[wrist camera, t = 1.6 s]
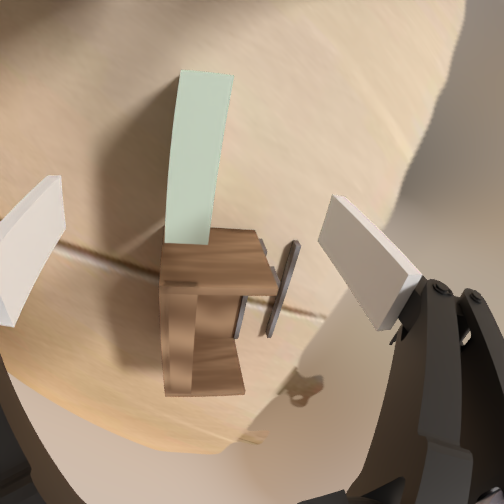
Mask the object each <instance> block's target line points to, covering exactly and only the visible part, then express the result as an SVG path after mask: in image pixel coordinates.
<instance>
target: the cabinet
mask: <svg viewBox="0 0 504 504" xmlns="http://www.w3.org/2000/svg"><path fill="white" fill-rule="evenodd" d="M300 248H301V245H300V243H299V242H298V241H295V240H293V243H292V247H291V250H290V253H289V257H288V260H287V264H286V267H285V270H284V274H283V277H282V280H281V284H280V280H279V278H278V276H277V273H276V271H275V269H274V267H270V266H269V264H268V261H267V259H266V254H267V250H266V247H265V245H264V242H263V240H262V239H258V236H257V234H256V232H255V230H241V229H225V228H210V233H209V241H208V245H201V244H179V243H165V226H164V235H163V244H162V255H161V266H160V278H159V312H160V335H161V352H162V366H163V379H164V389H165V397H202V396H229V395H244V394H245V387H244V383H243V378H242V373H241V369H240V364H239V359H238V355H237V350H236V345H235V340H234V339H238V337H239V332H240V328H241V324H242V320H243V315H244V311H245V307H246V302H247V298H248V296H277V297H276V300H275V303H274V306H273V310H272V313H271V316H270V319H269V322H268V326H267V329H266V335H267V338H271V337H272V334H273V331H274V328H275V325H276V322H277V319H278V316H279V313H280V310H281V307H282V304H283V301H284V298H285V295H286V292H287V289H288V286H289V283H290V280H291V277H292V274H293V271H294V267H295V264H296V261H297V258H298V255H299V251H300ZM279 286H280V287H279ZM278 289H279V290H278ZM277 292H278V293H277Z"/></svg>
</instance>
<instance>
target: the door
mask: <svg viewBox="0 0 504 504" xmlns="http://www.w3.org/2000/svg"><path fill="white" fill-rule="evenodd" d="M233 79H234V75H227V74H220V73H211V72H202V71H191V70H181V72H180V79H179V85H178V92H177V99H176V106H175V114H174V122H173V131H172V140H171V149H170V160H169V172H168V184H167V199H166V218H165V243H179V244H201V245H208V241H209V233H210V225H211V218H212V210H213V203H214V196H215V188H216V182H217V175H218V168H219V161H220V155H221V149H222V142H223V136H224V130H225V124H226V118H227V113H228V107H229V101H230V96H231V90H232V85H233Z"/></svg>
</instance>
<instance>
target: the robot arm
mask: <svg viewBox="0 0 504 504" xmlns="http://www.w3.org/2000/svg"><path fill="white" fill-rule="evenodd" d="M65 229H66V223H65V215H64V206H63V195H62V182H61V175H47V176H46V177H45V178H44V179H43V180H42V181H41V182H40V183H38V184H37V185H36V186H35V187H34V188H33V189H32V190H31V191H30V192H29V193H28V194H27V195H26V196H25V197H24V198H23V199H22V200H21V201H20V202H19V203H18V204H17V205H16V206H15V207H14V208H13V209H12V210H11V211H10V212H9V213H8V214H7V215H6V216H5V217H4V219H3V220H2V221H1V222H0V325H3V326H9V327H15V324H16V322H17V320H18V317H19V315H20V313H21V311H22V308H23V306H24V304H25V302H26V300H27V298H28V296H29V294H30V292H31V290H32V288H33V286H34V284H35V282H36V280H37V278H38V276H39V274H40V272H41V270H42V268H43V267H44V265H45V263H46V261H47V259H48V258H49V256H50V254H51V252H52V251H53V249H54V247H55V245H56V244H57V242H58V240H59V239H60V237H61V235H62V234H63V232H64V231H65ZM318 242H319V244H320V245H321V247H322V248H323V250H324V251H325V253H326V254H327V255H328V257H329V258H330V260H331V261H332V263H333V264H334V266H335V267H336V269H337V270H338V272H339V273H340V275H341V276H342V278H343V279H344V281H345V282H346V284H347V285H348V287H349V288H350V290H351V292H352V293H353V295H354V296H355V298H356V299H357V301H358V302H359V304H360V306H361V307H362V308H363V310H364V312H365V313H366V315H367V317H368V318H369V320H370V321H371V323H372V325H373V326H374V328H375V330H376V331H383V330H390V329H391V328H392V326H393V325H394V323H395V322H396V320H397V319H398V318H399V320H400V322H401V323H402V325H401V326H400V328H399V329H398V331H397V333H396V334H395V336H394V337H393V339H392V340H391V342H390V344H389V345H392V344H393V342H395V341H396V345H395V350H394V355H393V361H392V366H391V370H390V375H389V380H388V384H387V388H386V393H385V397H384V401H383V405H382V409H381V412H380V416H379V420H378V423H377V427H376V430H375V433H374V437H373V440H372V443H371V446H370V449H369V452H368V455H367V458H366V461H365V464H364V467H363V469H362V471H361V473H360V475H359V476H358V478H357V479H356V480H355V481H354V482H353V483H352V485H351V486H350V488H349V490H348V491H347V493H346V494H345V491H344V490H341V491H338V492H334V493H331V494H328V495H324V496H321V497H317V498H313V499H310V500H306V501H302V502H300V503H297V504H504V338H503V336H502V334H501V332H500V330H499V327H498V325H497V323H496V321H495V319H494V317H493V315H492V313H491V311H490V309H489V307H488V305H487V303H486V301H485V300H484V298H483V297H482V296H481V294H480V293H478V292H477V291H476V290H472V289H468V288H467V289H465V290H464V291H463V293H462V295H461V297H456V296H454V295H453V293H452V291H451V290H450V289H449V288H448V287H447V286H446V285H445V284H443V283H442V282H440V281H437V280H434V279H430V280H427V279H426V278H425V277H424V276H423V275H422V273H421V272H420V271H419V270H418V269H417V268H416V267H415V266H414V265H413V264H412V263H411V261H410V260H409V259H408V258H407V257H406V256H405V255H404V254H403V253H402V252H401V251H400V250H399V249H398V248H397V247H396V246H395V245H394V244H393V243H392V242H391V240H390V239H388V237H386V235H385V234H383V232H382V231H381V230H380V229H379V228H378V227H377V226H376V225H375V224H374V223H372V222H371V221H370V220H369V219H368V218H367V217H366V216H365V215H364V214H363V213H362V212H361V211H360V210H359V209H358V208H357V207H356V206H355V205H354V204H353V203H351V202H350V201H349V200H348V199H347V198H346V197H345V196H339V195H332V197H331V200H330V204H329V207H328V210H327V213H326V217H325V220H324V223H323V226H322V229H321V232H320V235H319V238H318ZM469 331H471V338H470V339H469V340H468V342H467V343H466V344H465V345H463V342H462V340H463V339H464V338H465V337H466V335H467V334H468V333H469ZM0 504H86V503H85V502H84V501H83V500H82V499H81V498H80V497H79V496H78V495H77V494H76V492H75V491H74V490H73V489H72V487H71V486H70V485H69V483H68V482H67V480H66V479H65V478H64V476H63V475H62V473H61V472H60V471H59V469H58V467H57V466H56V465H55V463H54V462H53V460H52V458H51V457H50V455H49V454H48V452H47V450H46V449H45V448H44V445H43V444H42V442H41V440H40V439H39V437H38V435H37V433H36V432H35V430H34V428H33V426H32V424H31V422H30V421H29V419H28V417H27V415H26V413H25V411H24V409H23V407H22V405H21V403H20V401H19V399H18V396H17V394H16V392H15V390H14V387H13V385H12V383H11V380H10V378H9V376H8V373H7V370H6V368H5V365H4V363H3V360H2V357H1V355H0Z"/></svg>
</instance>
